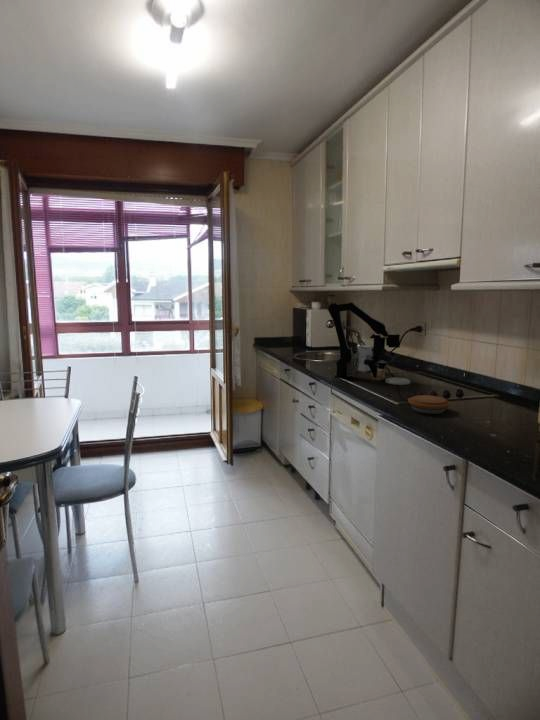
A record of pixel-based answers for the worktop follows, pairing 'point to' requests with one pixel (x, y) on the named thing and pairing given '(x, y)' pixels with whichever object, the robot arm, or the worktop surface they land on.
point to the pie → (428, 404)
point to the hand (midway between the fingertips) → (377, 376)
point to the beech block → (379, 374)
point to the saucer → (397, 381)
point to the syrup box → (364, 357)
